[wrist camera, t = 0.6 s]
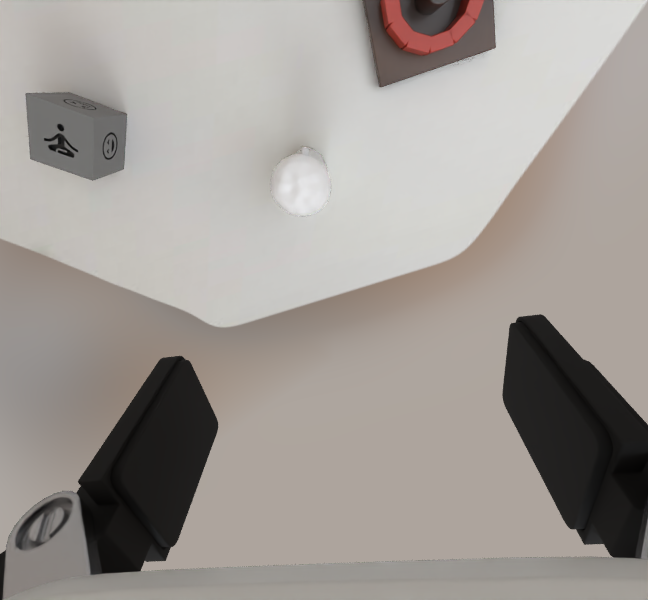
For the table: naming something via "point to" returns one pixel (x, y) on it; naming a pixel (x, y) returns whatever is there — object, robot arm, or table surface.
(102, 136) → the dice cube
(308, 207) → the milkshake
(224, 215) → the table surface
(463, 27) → the ring
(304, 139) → the table surface
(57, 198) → the table surface
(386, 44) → the ring holder
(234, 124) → the table surface
